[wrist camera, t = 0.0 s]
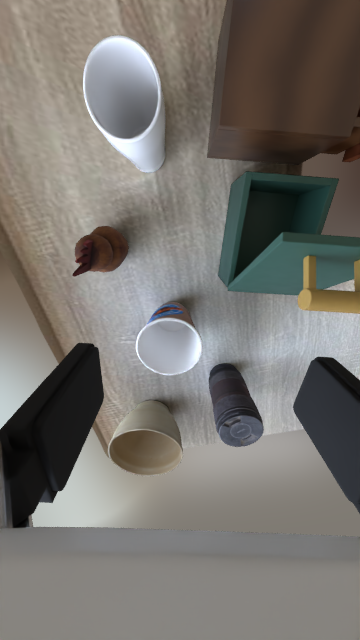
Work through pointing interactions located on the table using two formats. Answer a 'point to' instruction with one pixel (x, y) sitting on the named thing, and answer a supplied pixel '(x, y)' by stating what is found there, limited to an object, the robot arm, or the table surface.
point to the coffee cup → (169, 341)
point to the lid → (306, 271)
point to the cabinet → (285, 79)
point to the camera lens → (233, 407)
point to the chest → (270, 215)
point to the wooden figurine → (101, 250)
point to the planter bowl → (147, 441)
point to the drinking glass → (127, 100)
